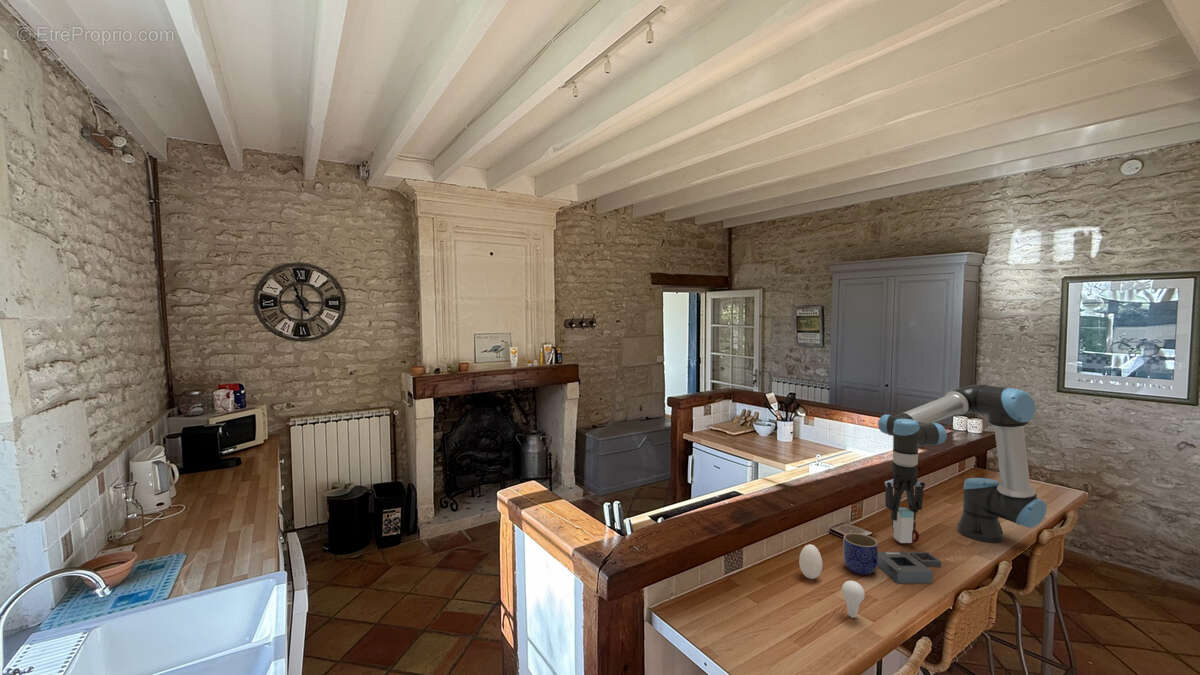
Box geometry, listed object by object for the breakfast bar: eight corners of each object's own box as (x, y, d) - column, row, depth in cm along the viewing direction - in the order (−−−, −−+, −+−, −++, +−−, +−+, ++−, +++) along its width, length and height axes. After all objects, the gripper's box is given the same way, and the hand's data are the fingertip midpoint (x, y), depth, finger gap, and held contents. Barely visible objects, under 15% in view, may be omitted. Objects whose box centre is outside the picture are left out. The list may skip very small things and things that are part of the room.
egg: (796, 579, 168) (797, 546, 167) (801, 570, 174) (802, 538, 173) (819, 586, 164) (820, 552, 163) (823, 576, 170) (824, 543, 169)
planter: (873, 565, 177) (874, 535, 177) (880, 580, 167) (881, 548, 167) (840, 560, 181) (841, 530, 180) (845, 575, 171) (845, 544, 170)
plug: (904, 537, 174) (905, 507, 173) (911, 542, 170) (912, 512, 169) (893, 537, 174) (894, 507, 173) (900, 542, 170) (901, 512, 169)
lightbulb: (837, 611, 150) (837, 577, 149) (855, 610, 150) (856, 576, 150) (848, 624, 144) (849, 588, 143) (868, 623, 144) (869, 587, 144)
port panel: (906, 562, 179) (906, 550, 179) (932, 583, 165) (932, 570, 165) (873, 562, 179) (874, 551, 179) (897, 583, 165) (897, 571, 165)
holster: (927, 557, 183) (928, 552, 183) (941, 566, 176) (941, 561, 176) (909, 557, 183) (909, 552, 183) (921, 567, 176) (922, 561, 176)
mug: (926, 547, 190) (926, 522, 190) (912, 552, 187) (913, 526, 186) (899, 536, 200) (900, 512, 199) (886, 540, 196) (887, 516, 196)
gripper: (921, 460, 174) (919, 524, 175) (874, 460, 174) (872, 524, 175) (936, 467, 167) (934, 533, 168) (887, 467, 166) (885, 533, 168)
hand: (902, 528), depth 171 cm, fingers closed on plug, 4 cm apart
